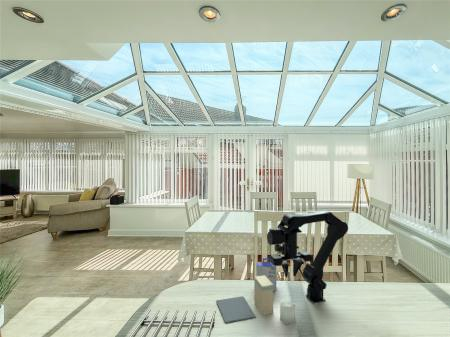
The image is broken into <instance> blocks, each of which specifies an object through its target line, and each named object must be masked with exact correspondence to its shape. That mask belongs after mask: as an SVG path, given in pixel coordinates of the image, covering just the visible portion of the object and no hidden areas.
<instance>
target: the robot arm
mask: <svg viewBox="0 0 450 337" xmlns="http://www.w3.org/2000/svg"><path fill="white" fill-rule="evenodd" d="M320 222H325V223H326V225H327V226H326V227H327V228H326V233H327V234H326V236H325V238H324V240H323V242H322V244H321V246H320V248H319V250H318V252H317V253H316V255H315V258H314V259H313V256H312V254H311V253H309V252H308V251H306V250H302V251H298V249H299V248H300V246H299V245H298V234H301V233H302V232H303V231H302V230H301V229H300V228H302V227H303V226H304V225H307V224H313V223H320ZM348 230H349V226H348V224H347V222H345V221H343V220H341V219H340V218H339V217H337V216H335V215H334V214H333V212H331V211H330V210H329V211H328V210H325V209H324V210H321V211H315V212H308V213H302V214H299V213H290V212H289V213H284V214H283V216H282V219H281V220H280V222H279V224H278V225H277V227H276V228H269V229H268V232H267V233H266V234H267V235H266V240H267V243H268V244H269V245H270V246H274V252H277V253H278V254H276V253H275V254H270V255H269V257H268V259H269V261H270V263H272V264H273V265H274V266H276V267H277V266H280V267H281V268H282V270H283V273H284V276H285V278H288V276H289V266H290V265H289V263H288V262H287V261H292V265H293V267H292V274H293V277H296V276H297V273H298V272H299V270H301V267H302V266H303V265H304V264H305V265H304V266H305V267H303V269H302V276H303V279H305V282H306V283H308V284H307V288H306V294H305V296H306V298H308V299H309V301H311V302H312V303H315V304H316V303H320V302H326V298H325V297H324V290H326V289H327V283H326V282H324V281H323V277H324V267H325V265H326V264H327V261H328V259H329V258H330V256H331V254H332V252H333V250H334V248H335V246H336V244H337V242H338V241H339V240H340V239H343V238H344V236H345V235H346V234H347V232H348ZM279 254H281V255H282V256H280V255H279ZM303 259H304V261H305V262H304V261H303ZM269 261H268V262H269ZM308 262H309V263H308Z"/></svg>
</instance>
